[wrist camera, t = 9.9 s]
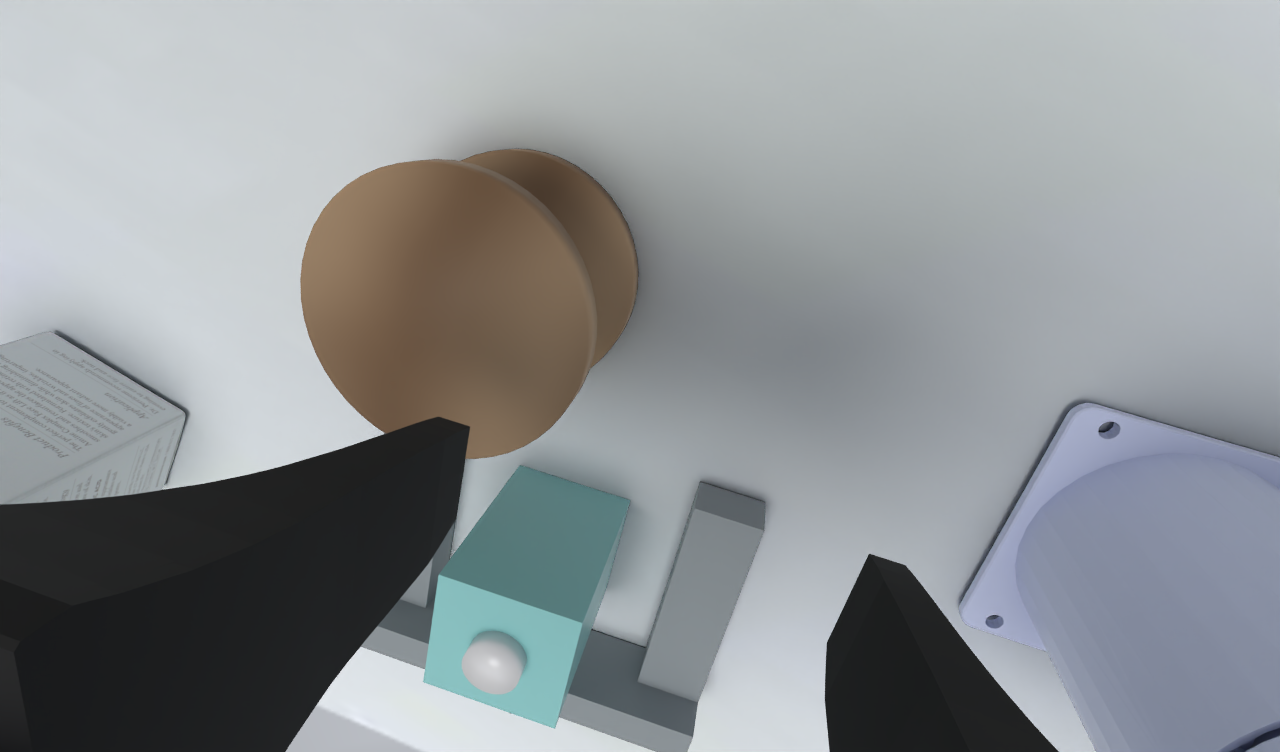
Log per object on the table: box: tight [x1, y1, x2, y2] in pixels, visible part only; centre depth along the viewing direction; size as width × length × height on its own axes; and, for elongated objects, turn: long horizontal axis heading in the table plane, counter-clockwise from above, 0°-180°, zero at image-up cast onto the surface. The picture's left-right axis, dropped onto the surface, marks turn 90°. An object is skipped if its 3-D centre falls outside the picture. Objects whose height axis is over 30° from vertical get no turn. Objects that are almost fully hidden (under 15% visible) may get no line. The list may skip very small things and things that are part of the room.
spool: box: [300, 149, 638, 459], centre depth 18 cm, size 7×7×6 cm
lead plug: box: [423, 465, 631, 729], centre depth 21 cm, size 4×4×7 cm
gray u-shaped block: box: [361, 433, 765, 752], centre depth 23 cm, size 12×9×3 cm
